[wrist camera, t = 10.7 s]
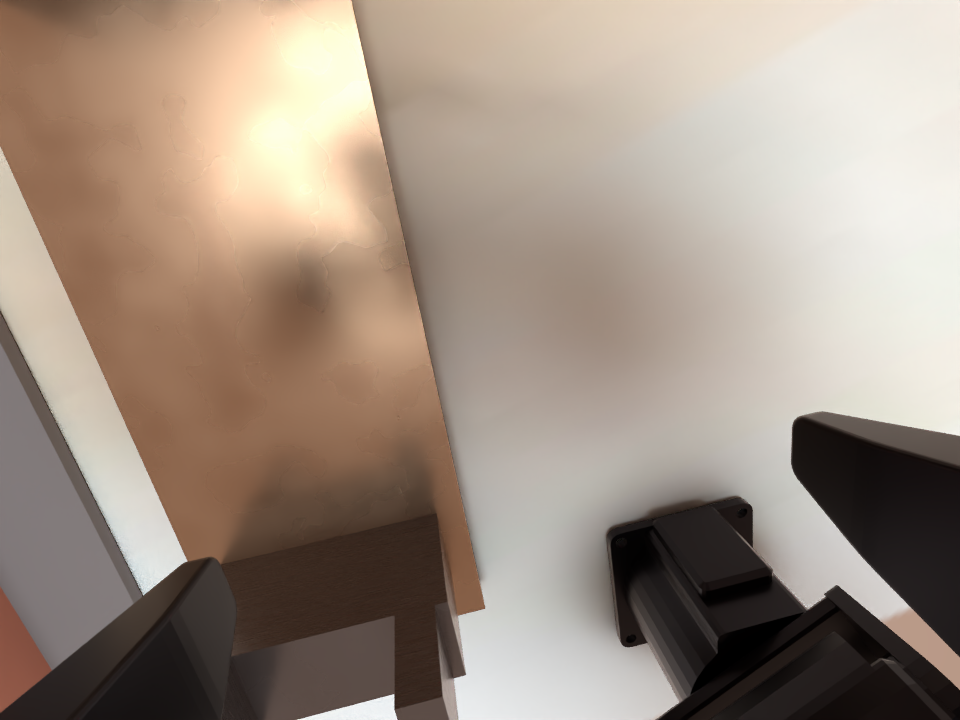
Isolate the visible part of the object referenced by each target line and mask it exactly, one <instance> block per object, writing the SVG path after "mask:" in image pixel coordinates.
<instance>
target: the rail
mask: <svg viewBox="0 0 960 720" xmlns="http://www.w3.org/2000/svg"><path fill="white" fill-rule="evenodd" d="M51 671H52V670H51V668H50V667H49V665H48V663H47V662H46V660H45V658H44V657H43V655H42V654H41V652H40V650H39V649H38V647H37V645H36V644H35V642H34V640H33V639H32V637H31V636H30V634H29V632H28V631H27V629H26V627H25V626H24V624H23V623H22V621H21V619H20V618H19V616H18V614H17V613H16V611H15V609H14V608H13V606H12V605H11V603H10V601H9V600H8V598H7V596H6V595H5V593H4V592H3V590H2V588H1V587H0V713H1V712H2V711H3V710H4V709H5V708H7V707H8V706H9V705H10V704H12V703H13V702H14V701H15V700H16V699H18V698H19V697H20V696H21V695H23V694H24V693H25V692H26V691H27V690H29V689H30V688H31V687H32V686H34V685H35V684H36V683H37V682H38V681H40V680H41V679H42V678H43V677H45V676H46V675H47V674H48V673H49V672H51Z"/></svg>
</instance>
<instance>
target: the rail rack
mask: <svg viewBox="0 0 960 720" xmlns="http://www.w3.org/2000/svg"><path fill="white" fill-rule="evenodd" d="M0 146H1V148H2V151H3V153H4V155H5V157H6V160H7V162H8V164H9V166H10V168H11V171H12V173H13V175H14V177H15V179H16V182H17V184H18V186H19V188H20V191H21V193H22V195H23V197H24V199H25V202H26V204H27V206H28V208H29V210H30V213H31V215H32V217H33V219H34V222H35V224H36V226H37V228H38V230H39V233H40V235H41V237H42V239H43V242H44V244H45V246H46V248H47V250H48V253H49V255H50V257H51V259H52V261H53V264H54V266H55V268H56V270H57V273H58V275H59V277H60V279H61V281H62V284H63V286H64V288H65V290H66V293H67V295H68V297H69V299H70V301H71V304H72V306H73V308H74V310H75V312H76V315H77V317H78V319H79V321H80V324H81V326H82V328H83V330H84V332H85V335H86V337H87V339H88V341H89V344H90V346H91V348H92V350H93V352H94V355H95V357H96V359H97V361H98V363H99V366H100V368H101V370H102V372H103V375H104V377H105V379H106V381H107V383H108V386H109V388H110V390H111V392H112V394H113V397H114V399H115V401H116V403H117V406H118V408H119V410H120V412H121V414H122V417H123V419H124V421H125V423H126V426H127V428H128V430H129V432H130V434H131V437H132V439H133V441H134V443H135V445H136V448H137V450H138V452H139V454H140V457H141V459H142V461H143V463H144V465H145V468H146V470H147V472H148V474H149V477H150V479H151V481H152V483H153V485H154V488H155V490H156V492H157V494H158V496H159V499H160V501H161V503H162V505H163V508H164V510H165V512H166V514H167V516H168V519H169V521H170V523H171V525H172V528H173V530H174V532H175V534H176V536H177V539H178V541H179V543H180V545H181V547H182V550H183V552H184V554H185V556H186V559H187V561H192V560H196V559H201V558H205V557H210V556H211V557H214V558H216V559H217V560H218V561H219V563H220V564H221V567H222V569H223V571H224V574H225V576H226V578H227V581H228V583H229V585H230V588H231V590H232V592H233V595H234V597H235V600H236V604H237V619H236V626H235V633H234V640H233V647H232V654H231V660H230V667H229V674H228V681H227V688H226V695H225V702H224V708H223V714H222V719H221V720H297V719H301V718H305V717H308V716H312V715H316V714H320V713H324V712H327V711H331V710H335V709H339V708H343V707H346V706H350V705H354V704H358V703H361V702H365V701H369V700H373V699H377V698H380V697H384V696H388V695H392V694H395V713H396V716H397V719H398V720H458V712H457V703H456V695H455V686H454V678H456V677H460V676H464V675H466V672H465V665H464V658H463V651H462V644H461V636H460V629H459V622H458V615H462V614H466V613H470V612H474V611H477V610H481V609H485V605H484V600H483V595H482V590H481V586H480V581H479V576H478V572H477V567H476V563H475V558H474V554H473V549H472V545H471V540H470V536H469V531H468V526H467V522H466V517H465V513H464V508H463V504H462V499H461V495H460V490H459V486H458V481H457V477H456V472H455V467H454V463H453V458H452V454H451V449H450V445H449V440H448V436H447V431H446V427H445V422H444V418H443V413H442V408H441V404H440V399H439V395H438V390H437V386H436V381H435V377H434V372H433V368H432V363H431V359H430V354H429V349H428V345H427V340H426V336H425V331H424V327H423V322H422V318H421V313H420V309H419V304H418V300H417V295H416V290H415V286H414V281H413V277H412V272H411V268H410V263H409V259H408V254H407V250H406V245H405V241H404V236H403V231H402V227H401V222H400V218H399V213H398V209H397V204H396V200H395V195H394V191H393V186H392V182H391V177H390V172H389V168H388V163H387V159H386V154H385V150H384V145H383V141H382V136H381V132H380V127H379V123H378V118H377V113H376V109H375V104H374V100H373V95H372V91H371V86H370V82H369V77H368V73H367V68H366V64H365V59H364V54H363V50H362V45H361V41H360V36H359V32H358V27H357V23H356V18H355V14H354V9H353V5H352V0H0Z"/></svg>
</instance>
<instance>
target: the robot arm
mask: <svg viewBox="0 0 960 720" xmlns="http://www.w3.org/2000/svg"><path fill="white" fill-rule="evenodd" d="M791 465H792V469H793V472H794V474H795V476H796V477H797V479H798V480H799V481H800V483H801V484H802V485H803V486H804V487H805V489H806V490H807V491H808V492H809V494H810V495H811V496H812V497H813V498H814V500H815V501H816V502H817V503H818V505H819V506H820V507H821V508H822V509H823V511H824V512H825V513H826V514H827V516H828V517H829V518H830V519H831V521H832V522H833V523H834V524H835V525H836V527H837V528H838V529H839V530H840V532H841V533H842V534H843V535H844V536H845V538H846V539H847V540H848V541H849V543H850V544H851V545H852V546H853V547H854V548H855V550H856V551H857V552H858V553H859V554H860V555H861V556H862V558H863V559H864V560H865V561H866V562H867V563H868V564H869V565H870V566H871V567H872V568H873V569H874V570H875V571H876V572H877V573H878V574H879V575H880V576H881V577H882V578H883V579H884V580H885V582H886V583H887V584H888V585H889V586H890V587H891V588H892V589H893V590H894V591H895V592H896V593H897V594H898V595H899V596H900V597H901V598H902V599H903V600H904V601H905V602H906V603H907V604H908V605H909V606H910V607H911V608H912V609H913V610H914V611H915V612H916V613H917V614H918V615H919V616H920V617H921V618H922V619H923V620H924V621H925V622H926V623H927V624H928V625H929V626H930V627H931V628H932V629H933V630H934V631H935V632H936V633H937V634H938V636H939V637H940V638H941V639H943V641H944V642H945V643H946V644H947V645H948V646H949V647H950V648H951V649H952V650H953V651H954V652H955V653H956V654H957V655H958V656H959V657H960V436H957V435H951V434H946V433H940V432H935V431H929V430H923V429H918V428H912V427H907V426H901V425H896V424H890V423H884V422H879V421H873V420H868V419H862V418H857V417H851V416H846V415H840V414H834V413H829V412H815V413H811V414H807V415H803V416H799V417H797V418H796V419H795V420H794V422H793V425H792V448H791ZM739 509H741V510H740V511H739V512H737V511H738V510H739ZM620 538H623V539H622V540H621V541H619V542H616V541H617V540H618V539H620ZM607 546H608V555H609V564H610V573H611V582H612V590H613V599H614V608H615V617H616V626H617V635H618V637H619V639H620V641H621V644H622V645H623V646H625V647H633V646H637V645H641V644H645V643H648V644H649V646H650V648H651V650H652V652H653V654H654V655H655V657H656V659H657V661H658V663H659V665H660V667H661V668H662V670H663V672H664V674H665V676H666V678H667V680H668V682H669V683H670V685H671V687H672V689H673V691H674V693H675V695H676V696H677V698H678V700H679V702H680V703H678V704H677V705H675V706H674V707H673V708H671V709H670V710H668V711H667V712H666V713H664V714H663V715H662V716H660V717H659V718H657V719H656V720H960V690H959V689H958V688H957V687H956V686H955V685H954V684H953V683H952V682H951V681H950V680H948V678H946V677H945V676H944V675H943V674H942V673H941V672H940V671H939V670H938V669H937V668H936V667H934V666H933V665H932V664H931V663H930V662H929V661H928V660H926V659H925V658H924V657H923V656H922V655H920V654H919V653H918V652H917V651H915V650H914V649H913V648H912V647H911V646H910V645H909V644H907V643H906V642H905V641H904V640H902V639H901V638H900V637H899V636H898V635H897V634H895V633H894V632H893V631H892V630H891V629H889V628H888V627H887V626H886V625H885V624H883V623H882V622H881V621H880V620H878V619H877V618H876V617H875V616H874V615H872V614H871V613H870V612H869V611H868V610H866V609H865V608H864V607H863V606H862V605H860V604H859V603H858V602H857V601H856V600H854V599H853V598H852V597H851V596H850V595H848V594H847V593H846V592H845V591H844V590H842V589H841V588H840V587H839V586H838V585H836V586H835V587H833V588H832V589H830V590H829V591H828V592H826V593H825V594H824V595H825V596H826V597H825V598H823V599H822V600H820V601H819V602H818V603H816V604H815V605H814V606H812V607H811V608H809V609H807V608H806V607H805V606H804V605H803V604H802V603H801V602H800V601H799V600H798V599H797V598H796V597H795V596H794V595H793V593H792V592H791V591H790V590H789V589H788V588H787V587H786V586H785V585H784V584H783V583H782V582H781V581H780V580H779V579H778V578H777V576H776V575H775V574H774V573H773V570H772V568H771V567H770V566H769V565H768V564H767V563H766V561H765V560H764V559H763V558H762V557H761V556H760V555H759V554H758V553H757V552H756V551H755V550H754V549H753V510H752V507H751V505H750V504H749V503H748V502H746V501H745V500H744V499H742V498H735V499H731V500H727V501H723V502H719V503H715V504H711V505H707V506H703V507H699V508H695V509H691V510H687V511H683V512H679V513H675V514H671V515H667V516H663V517H658V518H654V519H650V520H646V521H642V522H638V523H634V524H630V525H626V526H622V527H618V528H615V529H613V530H612V531H610V532H609V534H608V536H607ZM236 619H237V604H236V600H235V597H234V595H233V592H232V590H231V588H230V585H229V583H228V581H227V578H226V576H225V574H224V571H223V569H222V567H221V564H220V563H219V561H218V560H217V559H216V558H214V557H211V556H210V557H205V558H201V559H196V560H192V561H188V562H185V563H183V564H182V565H180V566H179V567H178V568H177V569H175V570H174V571H173V572H172V573H171V574H169V575H168V576H167V577H166V578H164V579H163V580H162V581H161V582H160V583H158V584H157V585H156V586H155V587H153V588H152V589H151V590H150V591H149V592H147V593H146V594H145V595H144V596H142V597H141V598H140V599H139V600H138V601H136V602H135V603H134V604H133V605H131V606H130V607H129V608H128V609H127V610H125V611H124V612H123V613H122V614H120V615H119V616H118V617H117V618H115V619H114V620H113V621H112V622H111V623H109V624H108V625H107V626H106V627H104V628H103V629H102V630H101V631H100V632H98V633H97V634H96V635H95V636H93V637H92V638H91V639H90V640H89V641H87V642H86V643H85V644H84V645H82V646H81V647H80V648H79V649H78V650H76V651H75V652H74V653H73V654H71V655H70V656H69V657H68V658H67V659H65V660H64V661H63V662H62V663H60V664H59V665H58V666H57V667H56V668H54V669H53V670H52V671H51V672H49V673H48V674H47V675H46V676H45V677H43V678H42V679H41V680H40V681H38V682H37V683H36V684H35V685H34V686H32V687H31V688H30V689H29V690H27V691H26V692H25V693H24V694H23V695H21V696H20V697H19V698H18V699H16V700H15V701H14V702H13V703H12V704H10V705H9V706H8V707H7V708H5V709H4V710H3V711H2V712H1V713H0V720H221V719H222V714H223V708H224V702H225V695H226V688H227V681H228V674H229V667H230V660H231V654H232V647H233V640H234V633H235V626H236Z"/></svg>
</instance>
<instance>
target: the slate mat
mask: <svg viewBox="0 0 960 720" xmlns="http://www.w3.org/2000/svg"><path fill="white" fill-rule="evenodd" d="M0 587H1V588H2V590H3V592H4V593H5V595H6V596H7V598H8V600H9V601H10V603H11V605H12V606H13V608H14V609H15V611H16V613H17V614H18V616H19V618H20V619H21V621H22V623H23V624H24V626H25V627H26V629H27V631H28V632H29V634H30V636H31V637H32V639H33V640H34V642H35V644H36V645H37V647H38V649H39V650H40V652H41V654H42V655H43V657H44V658H45V660H46V662H47V663H48V665H49V667H50V668H51V670H53V669H54V668H56V667H57V666H58V665H59V664H60V663H62V662H63V661H64V660H65V659H67V658H68V657H69V656H70V655H71V654H73V653H74V652H75V651H76V650H78V649H79V648H80V647H81V646H82V645H84V644H85V643H86V642H87V641H89V640H90V639H91V638H92V637H93V636H95V635H96V634H97V633H98V632H100V631H101V630H102V629H103V628H104V627H106V626H107V625H108V624H109V623H111V622H112V621H113V620H114V619H115V618H117V617H118V616H119V615H120V614H122V613H123V612H124V611H125V610H127V609H128V608H129V607H130V606H131V605H133V604H134V603H135V602H136V601H138V600H139V599H140V598H141V597H142V594H141V592H140V590H139V588H138V586H137V584H136V582H135V580H134V578H133V576H132V574H131V572H130V570H129V568H128V566H127V564H126V562H125V560H124V558H123V556H122V554H121V552H120V550H119V548H118V546H117V544H116V542H115V540H114V538H113V536H112V534H111V532H110V530H109V528H108V526H107V524H106V522H105V520H104V518H103V516H102V514H101V512H100V510H99V508H98V506H97V504H96V502H95V500H94V498H93V496H92V494H91V492H90V490H89V488H88V486H87V484H86V482H85V480H84V478H83V476H82V474H81V472H80V470H79V468H78V466H77V464H76V462H75V460H74V458H73V456H72V454H71V452H70V450H69V448H68V446H67V444H66V442H65V440H64V438H63V436H62V434H61V432H60V430H59V428H58V426H57V424H56V422H55V420H54V418H53V416H52V414H51V412H50V410H49V408H48V406H47V404H46V403H45V401H44V399H43V397H42V395H41V393H40V391H39V389H38V387H37V385H36V383H35V381H34V379H33V377H32V375H31V373H30V371H29V369H28V367H27V365H26V363H25V361H24V359H23V357H22V355H21V353H20V351H19V349H18V347H17V345H16V343H15V341H14V339H13V337H12V335H11V333H10V331H9V329H8V327H7V325H6V323H5V321H4V319H3V317H2V315H1V313H0Z"/></svg>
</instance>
